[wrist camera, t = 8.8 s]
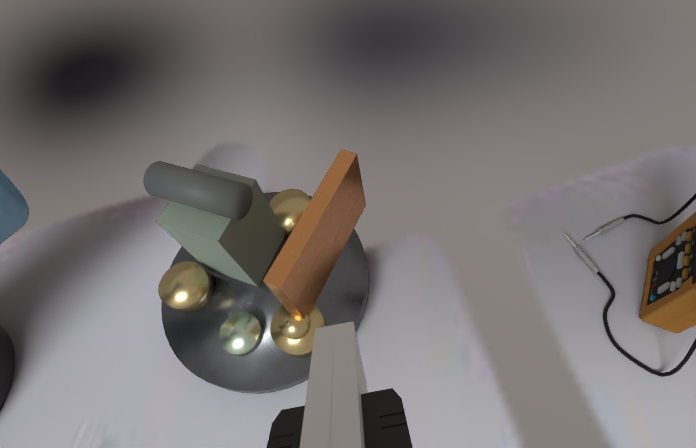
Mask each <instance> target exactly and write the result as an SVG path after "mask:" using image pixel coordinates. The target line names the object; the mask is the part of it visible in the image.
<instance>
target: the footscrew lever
mask: <svg viewBox="0 0 696 448" xmlns="http://www.w3.org/2000/svg"><path fill="white" fill-rule="evenodd" d="M365 206H366V203H365V197H364V191H363V186H362V180H361V174H360V168H359V163H358V157H357V154H356V153H352V152H348V151H345V150H340V152H339V154H338V155H337V157H336V159H335V161H334V162H333V164H332V165H331V167H330V169H329V171H328V172H327V174H326V176H325V177H324V179H323V181H322V182H321V184H320V186H319V188H318V189H317V191H316V192H315V194H314V196H313V197H312V199H311V201H310V202H309V204H308V206H307V207H306V209H305V211H304V213H303V214H302V216H301V218H300V219H299V221H298V223H297V224H296V226H295V228H294V229H293V231H292V233H291V234H290V236H289V238H288V239H287V241H286V243H285V244H284V246H283V248H282V250H281V251H280V253H279V255H278V256H277V258H276V260H275V261H274V263H273V265H272V266H271V268H270V270H269V271H268V273H267V275H266V276H265V278H264V280H263V282H264V283H265V284H266V285H267V287H268V288H269V289H270V290H271V291H272V293H273V294H274V295H275V296H276V297H277V299H278V300H279V301H280V302H281V303H282V306H281V307H280V308H279V309H278V310H277V311H276V312H275V314H274V316H273V318H272V321H271V325H270V333H271V337H272V339H273V341H274V343H275V344H276V345H277V346H278V347H279V348H280V349H281V350H282V351H283V352H285V353H286V354H287V355H289V356H291V357H294V358H306V357H309V356H311V355H312V349H313V341H314V333H315V328H320V327H326V326H327V323H326V320H325V318H324V317H323V315H322V313H321V312H320V310H319V309H318V307H317V306H316V305H315V303H316V301H317V299H318V297H319V295H320V293H321V291H322V289H323V287H324V285H325V284H326V282H327V280H328V278H329V276H330V274H331V272H332V270H333V268H334V266H335V264H336V262H337V260H338V258H339V256H340V254H341V252H342V250H343V249H344V247H345V245H346V243H347V241H348V239H349V237H350V235H351V233H352V231H353V229H354V227H355V225H356V223H357V221H358V219H359V217H360V215H361V213H362V212H363V209H364V208H365Z"/></svg>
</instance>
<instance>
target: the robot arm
mask: <svg viewBox="0 0 696 448" xmlns="http://www.w3.org/2000/svg"><path fill="white" fill-rule="evenodd" d="M28 216H29V207H28V205H27V202H26V200H25V199H24V197H23V195H22V194H21V193H20V191H19V190H18V189H17V188H16V186H15V185H14V184H13V183H12V182H11V180H10V179H9V178H8V177H7V176H6V175H5V174H4V173H3V172H2V171H1V169H0V244H1V243H3V242H4V241H5V240H6V239H8V238H9V237H10V236H11V235H13V234H14V233H15V232H16V231H18V230H19V229H20V228H21V227H23V225H24V224H25V222H27V219H28ZM13 368H14V351H13V346H12V343H11V340H10V338H9V337H8V335H7V334H6V332H5V331H4V330H3V329H2V328H1V327H0V407H1V405H2V403H3V401H4V399H5V397H6V394H7V392H8V389H9V386H10V382H11V379H12V374H13ZM267 448H412V443H411V439H410V435H409V430H408V426H407V421H406V417H405V412H404V408H403V403H402V399H401V397H400V396H399V395H398V394H397V393H396V392H395V391H394V390H393V389H392V388H391V389H386V390H381V391H375V392H370V393H367V383H366V378H365V373H364V369H363V364H362V359H361V355H360V350H359V346H358V341H357V336H356V332H355V327H354V322H353V321H352V322H346V323H341V324H336V325H331V326H326V327H320V328H315V333H314V341H313V349H312V356H311V364H310V372H309V379H308V387H307V395H306V402H305V406H301V407H295V408H290V409H285V410H281V412H280V413H279V415H278V416H277V417H276V419H275V420H274V422H273V423H272V427H271V431H270V435H269V441H268V444H267Z"/></svg>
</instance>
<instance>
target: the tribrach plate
mask: <svg viewBox="0 0 696 448" xmlns="http://www.w3.org/2000/svg"><path fill="white" fill-rule="evenodd" d="M264 196H265V197H266V199H267V201H268V203H269V205H270V206H271V208H272V210H273V212H274V214H275V215H276V217H277V219H278V221H279V223H280V225H279V226H280V228H281V230H282V231H283V233H284V235H285V236H284V238H283V240H282V242H281V244H280V246H279V247H278V249H277V251H276V253H275V255H274V257H273V259H272V261H271V263H270V265H269V266H268V268H267V270H266V272H265V274H264V276H263V278H262V280H261V282H260V284H259V285H258V287H257V286H254V285H252V284H249V283H246V282H243V281H240V280H238V279H235V278H232V277H229V276H226V275H223V274H221V273H218V272H215V271H212V270H209V269H206V268H205V267H204V266H203V265H202V264H201V263H200V262H199V261H198V260H197V259H196V258H195V257H193V256H192V255H191V254H190V253H189V252H188V251H187V250H186V249H185V248H184V247H183V246H182V247H181V248H180V250H179V252H178V253H177V255H176V257H175V259H174V260H173V263H172V265H171V267H170V269H169V270H168V271H167V272H166V273H165V274H164V275H163V277H162V279H161V281H160V284H159V296H160V298H161V300H162V321H163V326H164V330H165V334H166V337H167V339H168V342H169V344H170V347H171V348H172V350H173V351H174V353H175V355H176V356H177V358H178V359H179V360H180V361H181V362H182V363H183V365H184V366H185V367H186V368H187V369H189V370H190V371H191V372H192V373H194V374H195V375H196V376H198V377H200V378H201V379H203V380H205V381H207V382H209V383H212V384H214V385H217V386H220V387H223V388H225V389H228V390H231V391H236V392H241V393H256V394H259V393H269V392H275V391H279V390H283V389H287V388H290V387H292V386H295V385H297V384H300V383H302V382H304V381H306V380H308V379H309V372H310V364H311V356H312V355H311V356H309V357H306V358H294V357H291V356H289V355H287V354H286V353H285V352H283V351H282V350H281V349H280V348H279V347H278V346H277V345H276V344H275V343H274V341H273V339H272V337H271V333H270V325H271V321H272V318H273V316H274V314H275V312H276V311H277V310H278V309H279V308H280V307H281V306H282V303H281V302H280V301H279V300H278V299H277V297H276V296H275V295H274V294H273V293H272V291H271V290H270V289H269V288H268V287H267V285H266V284H265V283H264V282H263V280H264V278H265V276H266V275H267V273H268V271H269V270H270V268H271V266H272V265H273V263H274V261H275V260H276V258H277V256H278V255H279V253H280V251H281V250H282V248H283V246H284V244H285V243H286V241H287V239H288V238H289V236H290V234H291V233H292V231H293V229H294V228H295V226H296V224H297V223H298V221H299V219H300V218H301V216H302V214H303V213H304V211H305V209H306V207H307V206H308V204H309V202H310V201H311V199H312V197H311V196H308V195H307V194H306V193H304V192H303V191H301V190H297V189H289V190H285V191H282V192H271V193H265V194H264ZM368 292H369V275H368V266H367V262H366V257H365V254H364V250H363V246H362V244H361V241H360V239H359V237H358V235H357V233H356V231H355V230H354V229H353V231H352V233H351V235H350V237H349V239H348V241H347V243H346V245H345V247H344V249H343V250H342V252H341V254H340V256H339V258H338V260H337V262H336V264H335V266H334V268H333V270H332V272H331V274H330V276H329V278H328V280H327V282H326V284H325V285H324V287H323V289H322V291H321V293H320V295H319V297H318V299H317V301H316V303H315V305H316V306H317V307H318V309H319V310H320V312H321V313H322V315H323V317H324V318H325V320H326V323H327V326H331V325H336V324H341V323H346V322H352V321H353V322H354V327H355V332H356V331H357V329H358V326H359V324H360V322H361V320H362V317H363V314H364V311H365V308H366V304H367V298H368Z"/></svg>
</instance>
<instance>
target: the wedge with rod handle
mask: <svg viewBox="0 0 696 448" xmlns="http://www.w3.org/2000/svg"><path fill="white" fill-rule="evenodd" d="M144 186H145V189H146V191H147V192H148V193H149V194H151V195H153V196H157V197H160V198H163V199H167V200H170V202H169V203H168V205H167V206H166V208H165V209H164V210H163V212H162V213H161V215H160V216H159V217H158V219H157V220H156V222H157V223H158V224H159V225H160V226H161V227H162V228H163V229H164V230H166V231H167V232H168V233H169V234H170V235H171V236H172V237H173V238H174V239H175V240H176V241H177V242H178V243H179V244H181V245H182V246H183V247H184V248H185V249H186V250H187V251H188V252H189V253H190V254H191V255H192V256H193V257H195V258H196V259H197V260H198V261H199V262H200V263H201V264H202V265H203V266H204V267H205V268H206V269H209V270H212V271H215V272H218V273H221V274H223V275H226V276H229V277H232V278H235V279H238V280H240V281H243V282H246V283H249V284H252V285H254V286H257V287H258V285H259V284H260V282H261V280H262V278H263V276H264V274H265V272H266V270H267V268H268V266H269V265H270V263H271V261H272V259H273V257H274V255H275V253H276V251H277V249H278V247H279V246H280V244H281V242H282V240H283V238H284V236H285V235H284V233H283V231H282V230H281V228H280V226H279V225H280V223H279V221H278V219H277V217H276V215H275V214H274V212H273V210H272V208H271V206H270V205H269V203H268V201H267V199H266V197H265V196H264V194H263V192H262V190H261V188H260V187H259V185H258V183H257V181H256V180H255V179H251V178H248V177H244V176H240V175H236V174H232V173H228V172H224V171H220V170H216V169H212V168H209V167H205V166H201V165H197V164H196V166H195V167H194V169H193V170H192V169H188V168H184V167H180V166H176V165H173V164H168V163H165V162H161V161H158V162H155V163H153V164H151V165H150V166H149V167H148V169H147V170H146V172H145V176H144Z"/></svg>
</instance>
